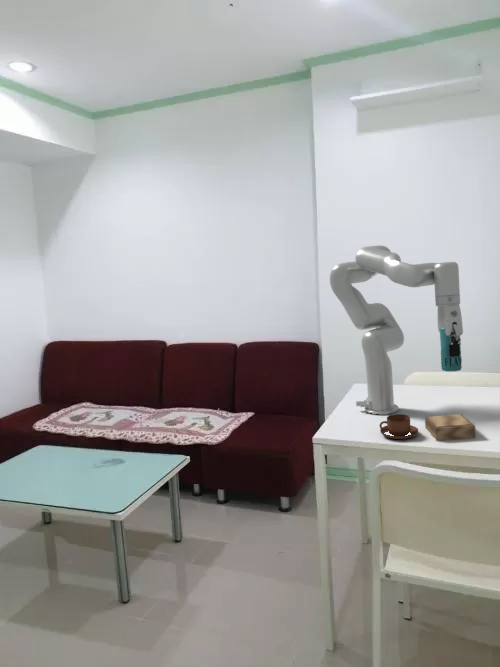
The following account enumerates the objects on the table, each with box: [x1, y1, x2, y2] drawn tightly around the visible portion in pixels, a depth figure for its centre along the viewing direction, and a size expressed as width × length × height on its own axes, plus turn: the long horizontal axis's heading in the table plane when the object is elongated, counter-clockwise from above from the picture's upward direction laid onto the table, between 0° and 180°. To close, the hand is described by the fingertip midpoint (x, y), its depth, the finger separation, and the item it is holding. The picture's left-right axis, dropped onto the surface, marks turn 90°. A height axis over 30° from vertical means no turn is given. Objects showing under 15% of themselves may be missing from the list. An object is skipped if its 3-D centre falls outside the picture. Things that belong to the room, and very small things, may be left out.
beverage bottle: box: [439, 326, 463, 373], centre depth 169 cm, size 6×7×20 cm
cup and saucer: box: [379, 413, 419, 440], centre depth 169 cm, size 12×12×6 cm
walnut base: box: [424, 413, 476, 441], centre depth 166 cm, size 12×12×4 cm
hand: (450, 354), depth 169 cm, fingers closed on beverage bottle, 6 cm apart
